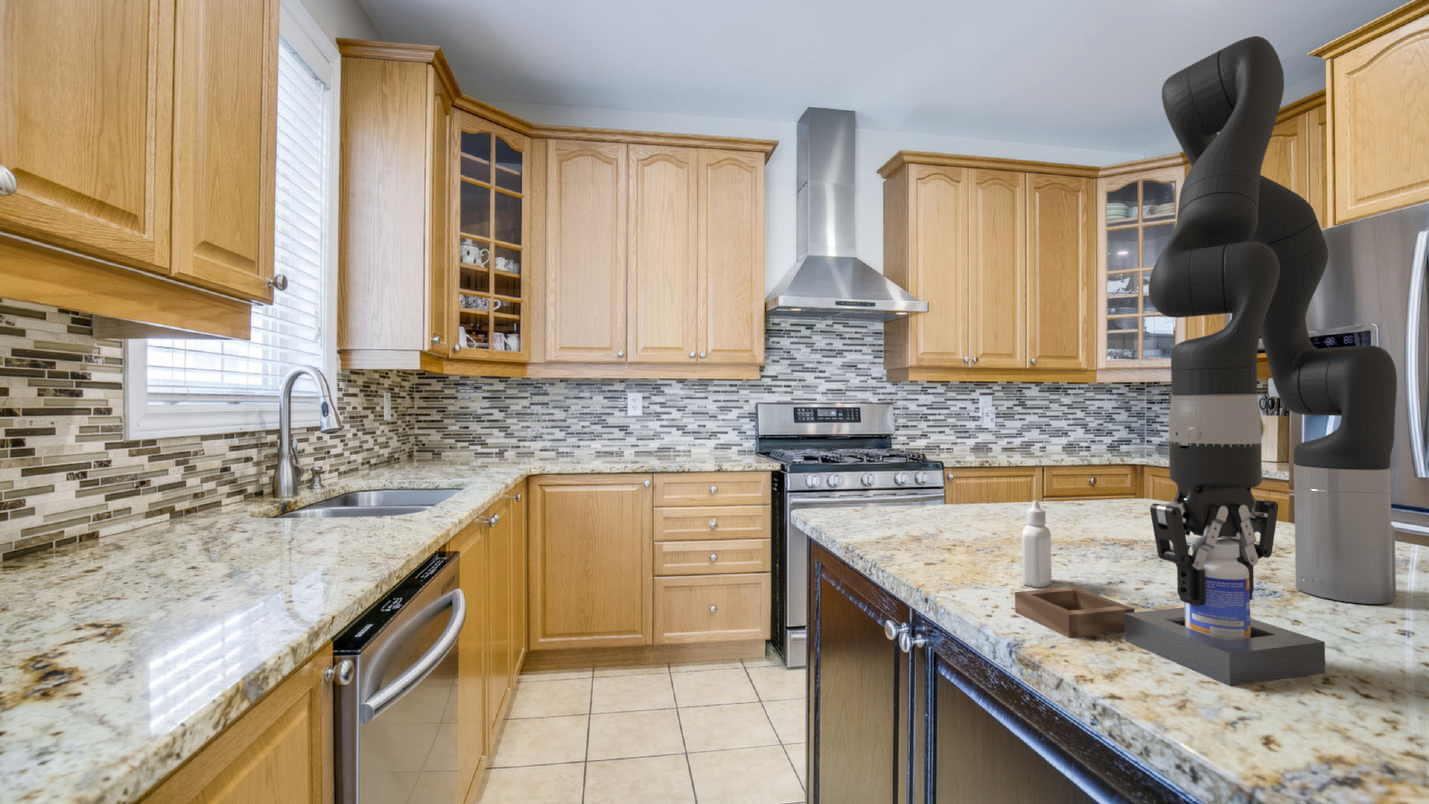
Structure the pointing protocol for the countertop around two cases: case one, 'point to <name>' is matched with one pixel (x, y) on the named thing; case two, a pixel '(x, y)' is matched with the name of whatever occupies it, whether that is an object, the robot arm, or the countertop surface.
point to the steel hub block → (1227, 648)
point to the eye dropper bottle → (1036, 549)
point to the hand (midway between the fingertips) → (1215, 600)
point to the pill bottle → (1223, 595)
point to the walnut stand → (1085, 618)
